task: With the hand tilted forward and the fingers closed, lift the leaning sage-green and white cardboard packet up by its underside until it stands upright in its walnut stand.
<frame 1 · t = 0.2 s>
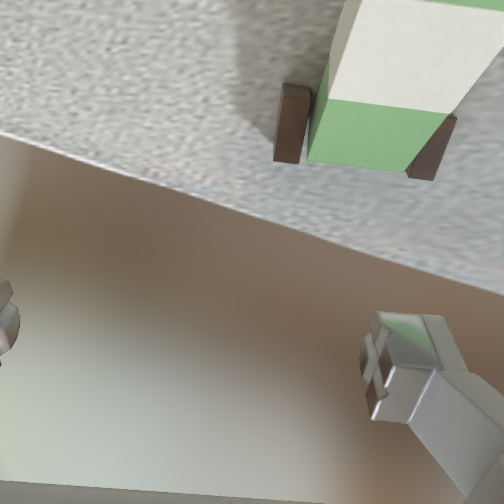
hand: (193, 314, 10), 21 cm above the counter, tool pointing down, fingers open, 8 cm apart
stand: (356, 125, 29), on the counter
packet: (404, 51, 21), point 6 cm above the counter, hinge at 35.0°
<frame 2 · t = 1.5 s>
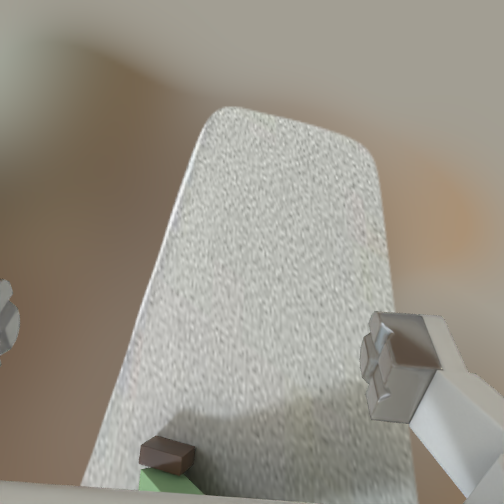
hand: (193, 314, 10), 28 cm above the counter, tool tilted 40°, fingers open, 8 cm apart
stand: (168, 496, 41), on the counter
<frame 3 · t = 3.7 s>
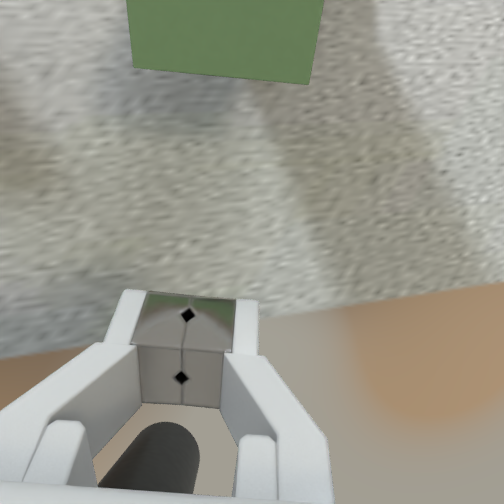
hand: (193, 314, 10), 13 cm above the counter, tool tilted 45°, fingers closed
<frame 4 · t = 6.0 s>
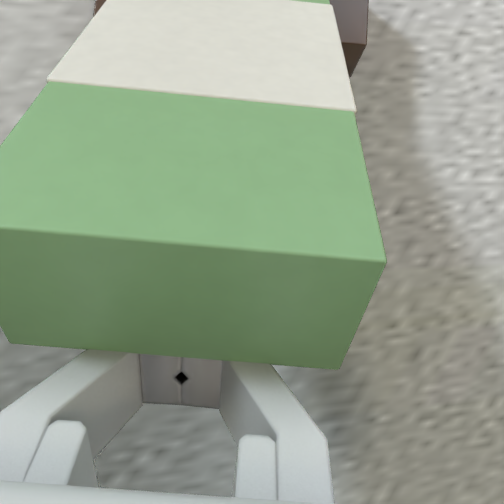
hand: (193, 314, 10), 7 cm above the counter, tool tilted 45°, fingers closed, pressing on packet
stand: (235, 25, 19), on the counter
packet: (219, 77, 13), point 6 cm above the counter, hinge at 35.0°, touching gripper
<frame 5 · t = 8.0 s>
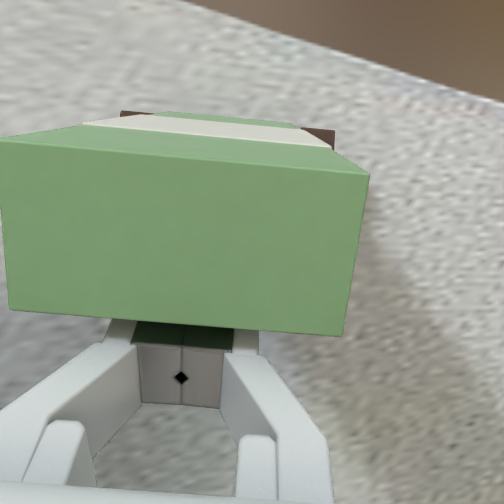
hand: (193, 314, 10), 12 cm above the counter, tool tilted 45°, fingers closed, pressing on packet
stand: (225, 177, 23), on the counter
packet: (215, 172, 15), point 8 cm above the counter, hinge at 62.9°, touching gripper
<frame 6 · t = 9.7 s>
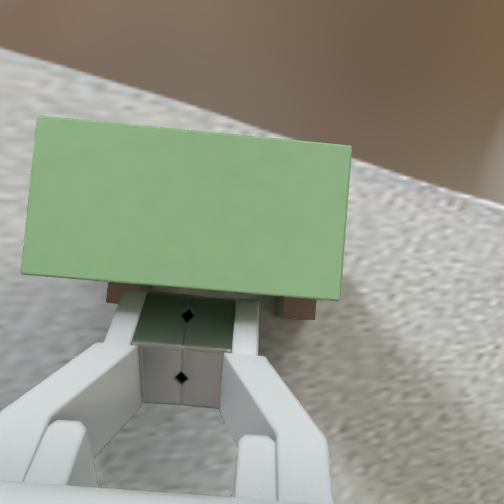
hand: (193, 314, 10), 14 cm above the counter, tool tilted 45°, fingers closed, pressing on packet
stand: (216, 274, 25), on the counter
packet: (211, 237, 17), point 8 cm above the counter, hinge at 83.4°, touching gripper
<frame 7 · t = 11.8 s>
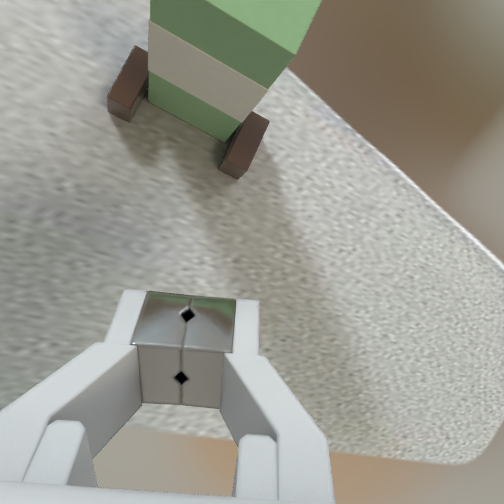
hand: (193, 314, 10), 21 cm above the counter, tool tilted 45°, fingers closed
stand: (187, 122, 32), on the counter
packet: (212, 61, 25), point 8 cm above the counter, hinge at 83.4°
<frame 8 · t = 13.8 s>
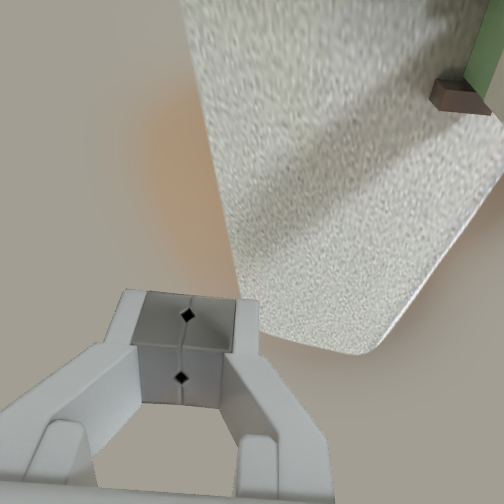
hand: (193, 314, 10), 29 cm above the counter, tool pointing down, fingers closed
stand: (477, 34, 33), on the counter
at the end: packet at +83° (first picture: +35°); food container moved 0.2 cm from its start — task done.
